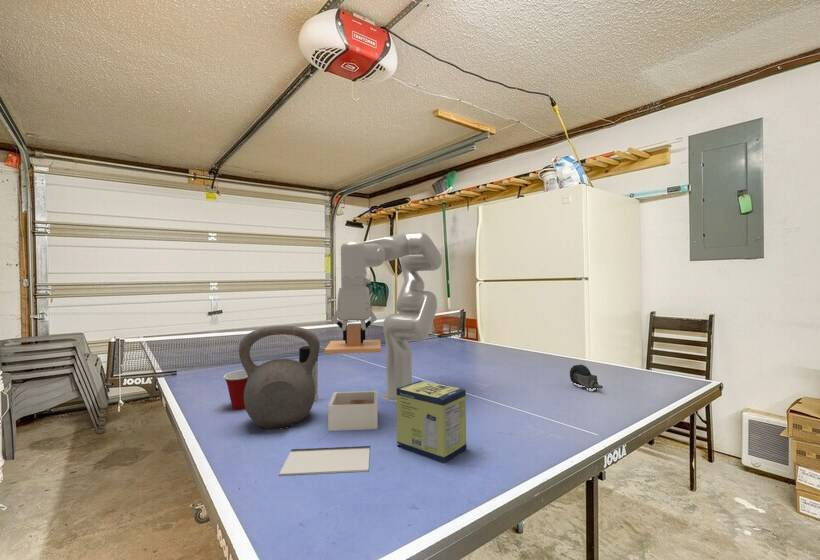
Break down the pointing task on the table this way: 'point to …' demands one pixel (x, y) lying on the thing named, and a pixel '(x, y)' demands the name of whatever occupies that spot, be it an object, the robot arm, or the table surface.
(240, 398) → the plastic cup
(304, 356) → the spray can
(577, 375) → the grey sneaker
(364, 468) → the mat
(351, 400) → the walnut block
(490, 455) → the table surface
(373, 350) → the lid
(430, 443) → the protein box
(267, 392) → the kettlebell
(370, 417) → the bin
